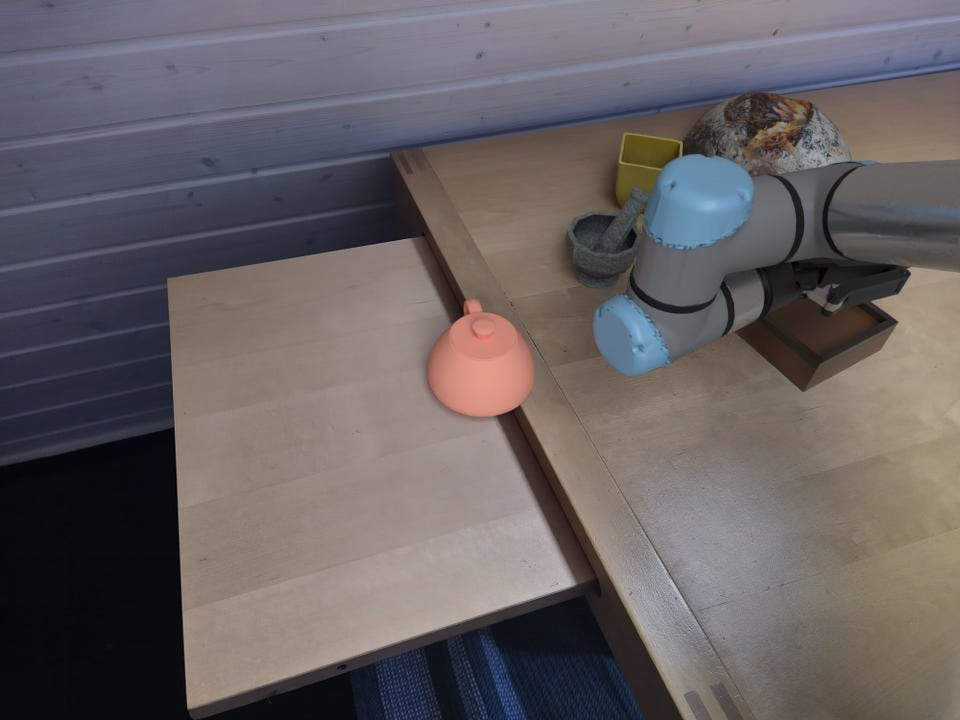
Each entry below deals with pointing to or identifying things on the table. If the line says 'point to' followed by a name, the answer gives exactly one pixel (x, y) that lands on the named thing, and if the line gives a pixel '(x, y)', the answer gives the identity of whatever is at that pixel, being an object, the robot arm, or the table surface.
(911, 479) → the table surface
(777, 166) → the bread
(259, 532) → the table surface
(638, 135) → the flower pot
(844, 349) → the brown wooden tray
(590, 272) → the mortar and pestle
